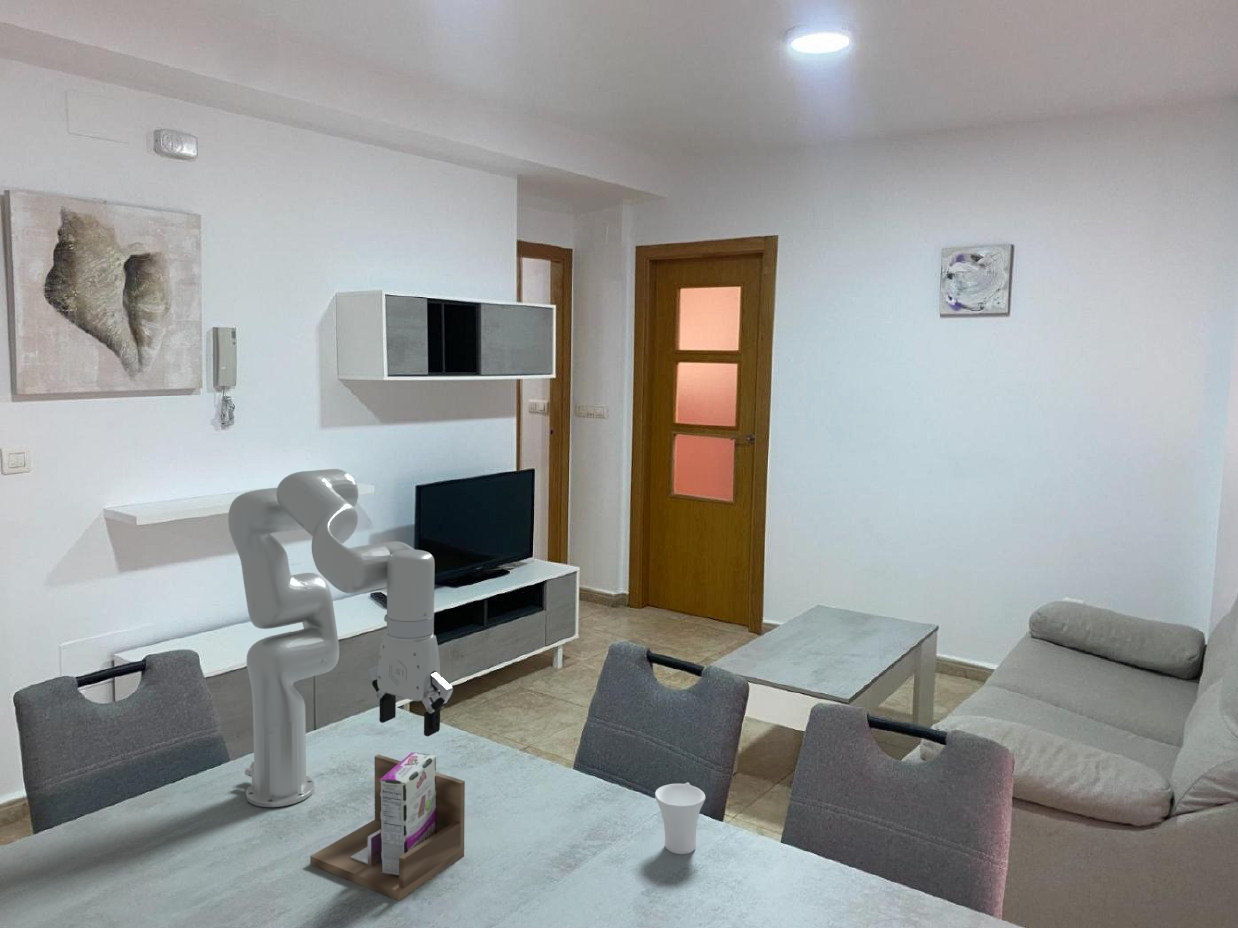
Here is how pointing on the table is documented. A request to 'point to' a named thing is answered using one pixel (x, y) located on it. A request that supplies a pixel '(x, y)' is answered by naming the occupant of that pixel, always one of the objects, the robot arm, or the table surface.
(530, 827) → the table surface
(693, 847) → the cup
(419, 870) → the shelf
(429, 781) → the candy bar box
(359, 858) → the bookend
